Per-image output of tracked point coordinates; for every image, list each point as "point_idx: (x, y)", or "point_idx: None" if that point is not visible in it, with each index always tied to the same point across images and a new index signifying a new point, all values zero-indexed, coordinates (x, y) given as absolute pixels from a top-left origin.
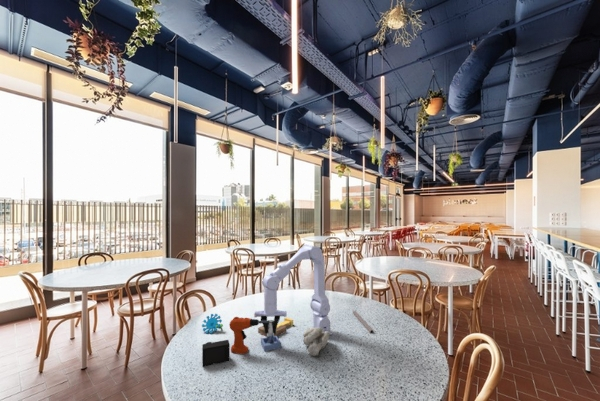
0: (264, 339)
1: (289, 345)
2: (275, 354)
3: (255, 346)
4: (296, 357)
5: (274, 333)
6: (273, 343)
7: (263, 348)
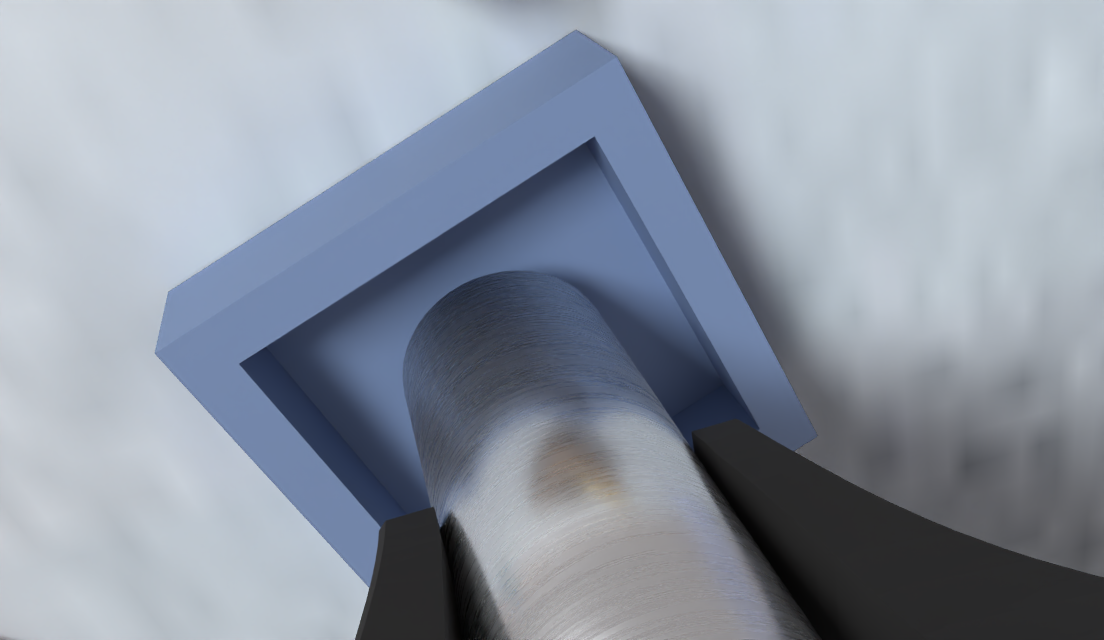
0: (284, 321)
1: (938, 220)
2: None
3: (109, 472)
4: None
5: None
6: None
7: None
